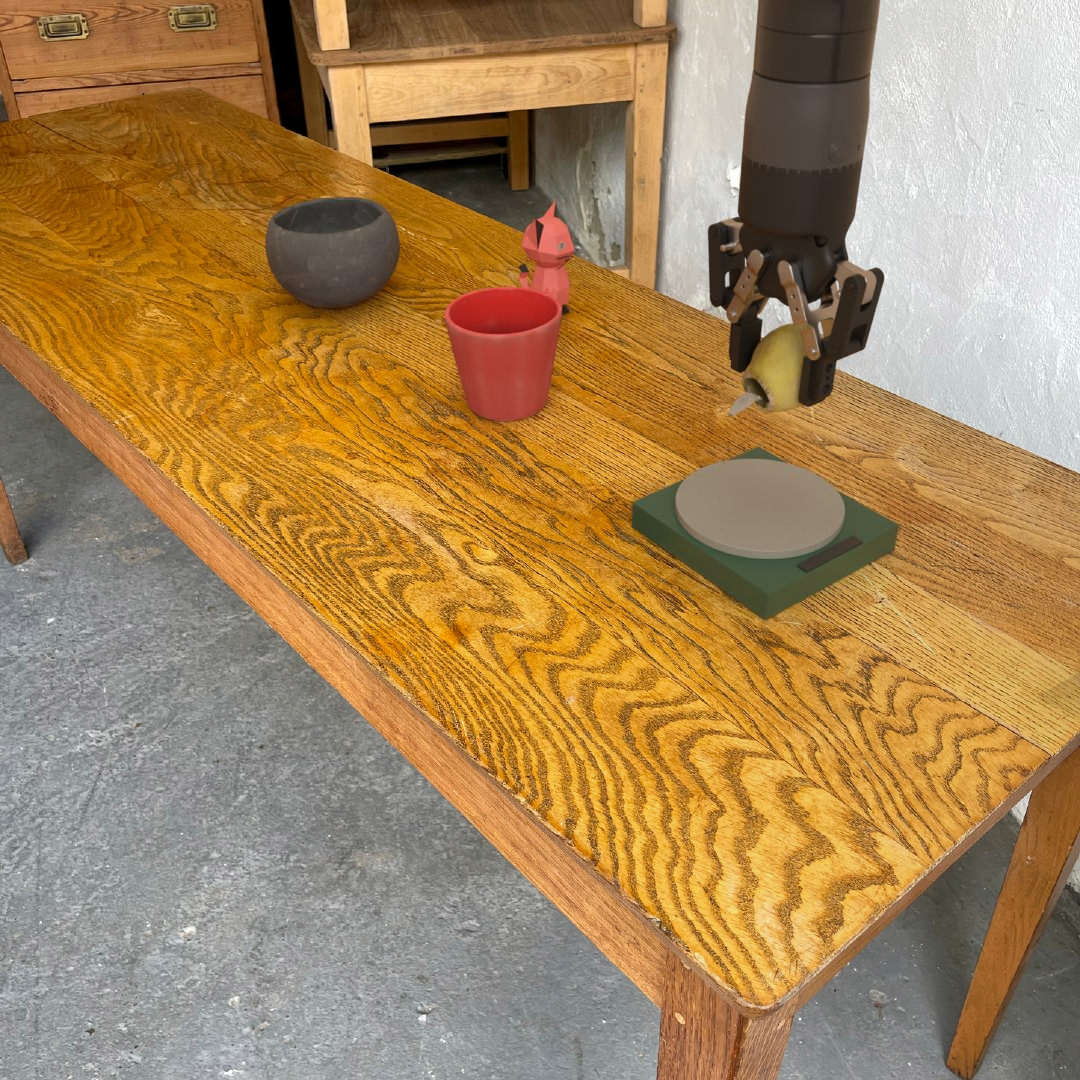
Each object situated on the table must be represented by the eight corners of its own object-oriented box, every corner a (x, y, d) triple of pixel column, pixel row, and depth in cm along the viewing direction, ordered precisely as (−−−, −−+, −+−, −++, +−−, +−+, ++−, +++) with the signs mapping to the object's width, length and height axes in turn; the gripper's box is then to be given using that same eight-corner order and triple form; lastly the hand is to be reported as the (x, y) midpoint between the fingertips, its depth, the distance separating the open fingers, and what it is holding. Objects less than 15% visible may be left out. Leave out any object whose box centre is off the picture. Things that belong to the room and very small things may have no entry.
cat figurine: (565, 332, 119) (564, 223, 112) (507, 323, 122) (502, 216, 115) (587, 306, 125) (587, 201, 118) (531, 299, 127) (528, 195, 120)
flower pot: (585, 409, 105) (584, 314, 100) (484, 441, 101) (478, 344, 95) (529, 367, 113) (525, 276, 107) (432, 396, 108) (424, 303, 103)
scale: (894, 550, 86) (901, 516, 84) (765, 620, 79) (769, 585, 77) (756, 469, 96) (759, 437, 94) (631, 526, 89) (632, 493, 87)
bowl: (316, 337, 120) (302, 248, 114) (253, 297, 130) (237, 213, 124) (429, 300, 127) (422, 215, 122) (362, 264, 137) (352, 184, 131)
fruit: (696, 414, 80) (779, 350, 84) (762, 461, 77) (843, 393, 82) (712, 355, 75) (799, 291, 80) (782, 403, 73) (867, 335, 77)
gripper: (935, 160, 67) (891, 407, 76) (763, 113, 76) (743, 337, 86) (850, 187, 63) (815, 441, 73) (681, 133, 73) (670, 364, 82)
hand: (777, 384), depth 79 cm, fingers closed on fruit, 6 cm apart
